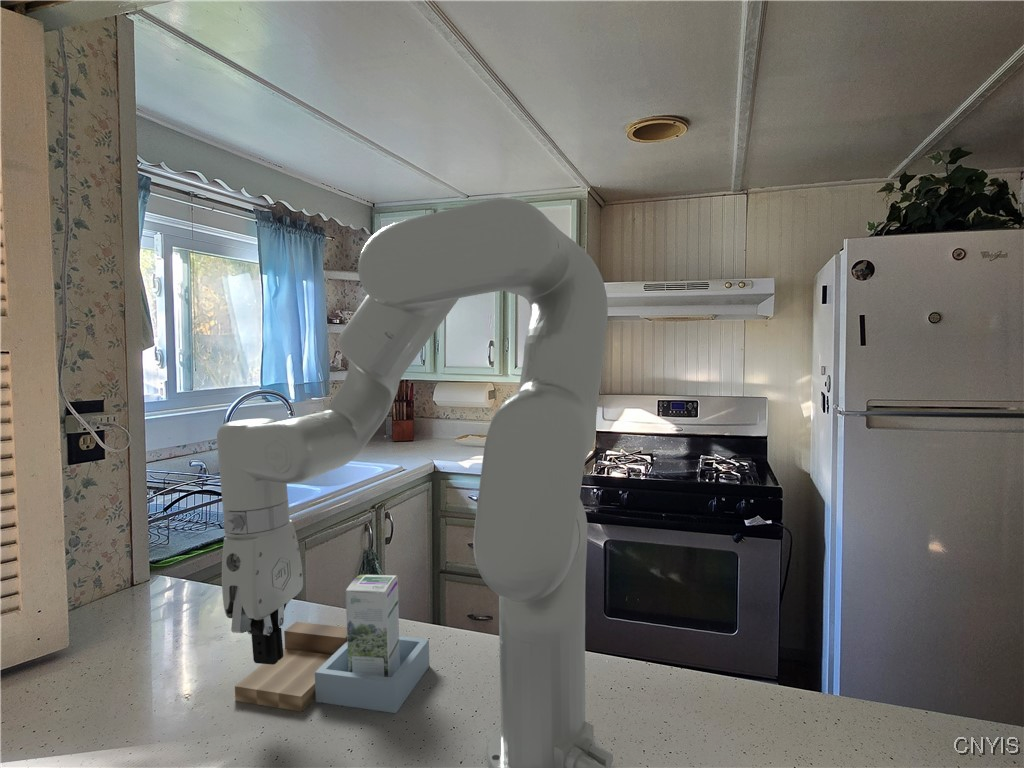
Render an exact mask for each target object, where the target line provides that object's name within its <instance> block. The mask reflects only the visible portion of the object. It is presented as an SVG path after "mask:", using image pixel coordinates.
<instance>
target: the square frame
mask: <svg viewBox="0 0 1024 768" xmlns="http://www.w3.org/2000/svg"><path fill="white" fill-rule="evenodd" d="M399 651H400V667H399V669H398V670H397V671H396V672H395V674H394V675H393V676H392V677H391V678H390V677H383V676H375V675H367V674H360V673H352V672H349V669H348V642H346V643H345V644H344V645H343V646H342V647H341V648H339V649H338V650H337V651H336V652H335V653H334V654H333V655H332V656H331V657H330V658H329V659H328V660H327V661H326V662H325V663H324V664H323V665H322V666H321V667H320V668H319V669H318V670H317V671H315V693H316V698H315V702H316V703H322V702H323V703H324V704H328V705H329V704H330V705H334V706H335V705H337V706H342V705H343V706H344V707H348V708H349V707H350V708H355V709H356V708H357V709H364V710H371V711H376V712H377V711H378V712H384V713H391V714H397V713H398V711H399V710H400V708H401V707H402V705H403V704H404V702H405V701H406V700H407V699H408V697H409V696H410V695H411V693H412V691H413V690H414V689H415V687H416V686H417V685H418V683H419V682H420V680H421V678H422V677H423V675H424V674H425V672H427V671H428V669H429V667H430V639H429V638H423V637H422V638H420V637H411V636H404V635H403V636H402V635H399ZM323 703H322V704H323Z"/></svg>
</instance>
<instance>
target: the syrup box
mask: <svg viewBox="0 0 1024 768" xmlns="http://www.w3.org/2000/svg"><path fill="white" fill-rule="evenodd" d="M345 609H346V610H345V613H346V627H347V642H348V669H349V672H352V673H360V674H367V675H375V676H383V677H390V678H391V677H392V676H393V675H394V674H395V672H396V671H397V670H398V669H399V667H400V651H399V636H400V623H399V622H400V620H399V618H400V615H399V578H398V575H393V574H392V575H391V574H386V575H385V574H384V575H383V574H359V575H358V576H356V577H355V578H354V579H353V580H352V581H351V582H350V584H349V585H348V587H346V589H345Z"/></svg>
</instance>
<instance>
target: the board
mask: <svg viewBox="0 0 1024 768" xmlns="http://www.w3.org/2000/svg"><path fill="white" fill-rule="evenodd" d="M331 656H332V655H327V654H320V653H313V652H305V651H298V650H290V649H285V648H283V658H282V659H280V660H278V662H277V663H276V664H274V665H272V664H260V666H258V667H257V668H255V669H254V670H253V671H252V672H250V673H249V674H248V675H247V676H246V677H244V678H243V679H242V680H241V681H239V682H238V683H237V684H236V685H235V686H234V697H235V701H236V702H241V703H247V704H254V705H257V706H258V705H259V706H263V707H264V706H266V707H271V708H279V709H282V710H283V709H284V710H289V711H290V710H291V711H296V712H297V711H298V712H301V713H302V712H303V711H304V710H305V709H306V708H308V705H310V704H311V703H312V702H313V701H314V700H316V693H315V671H317V670H318V669H319V668H320V667H321V666H322V665H323V664H324V663H325V662H326V661H327V660H328V659H329V658H330V657H331Z"/></svg>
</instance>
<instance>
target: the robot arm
mask: <svg viewBox="0 0 1024 768" xmlns="http://www.w3.org/2000/svg"><path fill="white" fill-rule="evenodd" d="M357 265H358V266H357V273H358V279H359V281H360V284H361V286H362V288H363V290H364V292H365V293H366V294H367V295H366V296H365V298H364V299H363V301H362V302H361V303H360V305H359V306H358V308H357V309H356V311H355V312H354V313H353V314H352V316H351V318H350V319H349V321H348V322H347V324H346V325H345V326H344V327H343V329H342V330H341V332H340V334H339V336H338V340H337V341H338V342H337V343H338V347H339V349H340V352H341V353H342V355H343V356H344V357H345V359H346V360H347V361H348V369H347V373H346V375H345V378H344V380H343V382H342V384H341V386H340V387H339V389H338V391H337V392H336V393H335V395H333V397H332V399H331V400H330V402H329V403H328V404H327V405H326V407H325V408H324V409H323V411H322V412H316V413H311V414H307V415H306V414H305V415H302V416H299V417H298V416H297V417H292V418H287V419H284V420H276V419H273V418H266V417H265V418H264V417H263V418H248V419H247V418H246V419H238V420H232V421H228V422H225V423H224V424H222V425H220V426H219V428H218V429H217V433H216V443H217V455H218V466H219V467H218V468H219V477H220V479H219V480H220V490H221V502H222V513H223V514H222V516H223V525H222V527H223V530H224V536H225V537H223V545H222V555H221V590H222V594H221V595H222V601H223V602H222V603H223V610H224V613H225V617H227V618H228V619H231V630H230V631H231V632H232V633H233V634H234V633H235V634H245V633H247V634H248V635H250V636H251V646H252V647H251V648H252V657H253V658H252V659H253V662H254V663H255V664H260V665H262V664H272V665H274V664H276V663H277V662H278V660H280V659H282V658H283V649H284V648H283V647H284V646H283V633H282V631H283V630H282V626H283V624H284V622H285V610H286V607H287V605H288V604H289V602H291V601H292V600H293V599H294V598H295V597H296V596H298V594H300V592H301V591H302V590H303V587H304V578H303V577H304V576H303V575H304V574H303V566H302V560H301V553H300V552H301V551H300V547H299V541H298V536H297V533H296V529H295V525H294V523H293V520H292V519H290V507H289V506H290V505H289V495H288V485H287V484H291V485H292V484H299V483H303V482H305V481H308V480H310V479H315V478H317V477H319V476H321V475H323V474H326V473H327V472H328V473H329V472H330V471H333V470H336V469H339V468H341V467H343V466H346V465H347V464H348V463H350V462H352V460H354V459H355V458H356V457H357V456H358V455H359V454H360V453H361V452H362V450H363V449H364V448H365V447H366V445H367V444H368V443H369V441H370V440H371V439H372V438H373V436H374V435H375V433H376V432H377V431H378V429H379V428H380V427H381V425H383V422H384V421H385V420H386V418H387V417H388V414H389V412H390V411H391V408H392V406H393V404H394V401H395V398H396V396H397V393H398V390H399V388H400V382H401V380H402V378H403V376H404V374H405V373H406V371H407V370H408V369H409V367H410V366H411V364H412V363H413V361H415V359H416V357H417V356H418V355H419V354H420V352H421V350H422V349H423V348H424V347H425V345H426V344H427V342H428V341H429V340H430V339H431V337H432V336H433V334H435V332H436V330H438V328H439V327H440V325H441V324H442V323H443V321H444V320H445V319H446V317H447V316H448V314H449V313H450V311H451V310H452V309H453V308H454V307H455V305H456V304H457V302H458V301H459V299H462V298H468V297H473V296H477V295H483V294H488V293H489V294H490V293H495V292H502V291H504V292H506V293H509V294H513V295H517V296H518V295H519V296H520V297H522V298H524V299H526V300H527V302H528V305H529V310H530V314H529V315H530V318H529V323H528V326H527V330H526V335H525V340H524V341H525V342H524V345H523V346H524V347H523V359H522V367H521V374H520V377H519V378H520V380H519V383H518V384H519V387H518V390H517V392H515V393H514V394H512V395H511V396H509V397H508V398H507V399H506V400H505V401H504V402H503V403H502V404H501V405H500V406H499V408H498V409H497V410H496V412H495V413H494V415H493V417H492V419H491V421H490V424H489V428H488V431H487V433H486V438H485V442H484V448H483V455H482V464H481V470H480V480H479V487H478V488H479V489H478V495H477V504H476V510H475V511H476V512H475V518H474V519H475V521H474V527H473V538H472V539H473V555H474V556H473V557H474V562H475V564H476V567H477V570H478V572H479V574H480V576H481V578H482V579H483V581H484V583H485V584H486V585H487V586H488V588H489V589H491V590H492V591H493V592H494V593H495V594H497V595H498V597H499V598H498V618H499V619H498V620H499V621H498V625H499V627H498V629H499V630H498V631H499V632H498V633H499V635H498V636H499V685H500V687H499V689H500V691H499V692H500V693H499V696H500V704H499V705H500V726H499V727H498V728H497V729H495V731H494V732H493V733H492V734H491V737H490V738H489V740H488V744H487V748H486V751H487V752H486V755H487V756H486V757H487V765H488V767H489V768H610V767H611V766H612V763H613V760H614V756H613V753H611V752H609V751H607V750H605V749H603V748H600V746H599V743H598V741H597V737H595V735H594V731H595V730H594V727H595V726H594V725H593V724H591V723H589V722H588V721H586V575H587V574H586V573H587V571H586V570H587V553H588V551H587V550H588V519H587V518H588V517H587V513H586V510H585V506H584V504H583V501H582V500H581V493H582V492H581V491H582V490H581V489H582V484H583V477H584V471H585V465H586V459H587V457H588V456H589V455H590V453H591V450H592V448H593V445H594V444H595V441H596V434H597V419H598V418H597V417H598V406H599V404H598V403H599V396H600V390H601V381H602V374H603V369H604V368H603V365H604V354H605V346H606V339H607V337H606V336H607V330H608V329H607V328H608V312H609V310H608V309H609V307H608V306H609V305H608V304H609V303H608V296H607V289H606V285H605V282H604V279H603V276H602V274H601V272H600V270H599V268H598V266H597V265H596V263H595V261H594V260H593V259H592V257H591V256H590V255H589V254H588V253H587V252H586V251H585V249H584V248H583V247H581V245H579V244H578V243H577V242H576V241H574V240H573V239H572V238H571V237H569V236H568V235H567V234H566V233H564V232H562V230H560V228H558V227H557V225H555V224H554V223H553V222H552V221H551V220H549V218H548V217H547V216H546V215H545V214H544V213H543V212H542V211H541V210H539V209H538V208H537V207H536V206H534V205H533V204H530V203H528V202H526V201H523V200H520V199H516V198H496V199H489V200H484V201H479V202H475V203H474V202H473V203H470V204H467V205H462V206H458V207H455V208H451V209H447V210H442V211H437V212H433V213H428V214H423V215H419V216H416V217H411V218H408V219H403V220H400V221H397V222H393V223H391V224H388V225H387V226H384V227H382V228H381V229H379V230H378V231H376V232H375V233H374V234H373V235H372V236H371V237H369V239H368V240H367V241H366V243H365V244H364V246H363V247H362V250H361V252H360V255H359V260H358V264H357Z"/></svg>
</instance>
